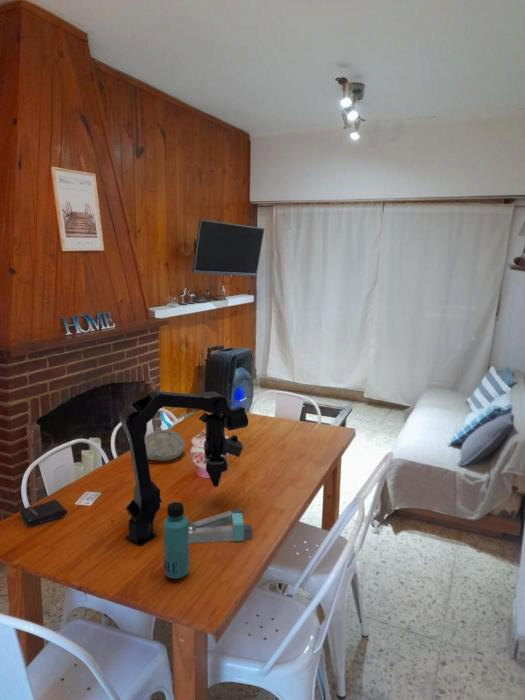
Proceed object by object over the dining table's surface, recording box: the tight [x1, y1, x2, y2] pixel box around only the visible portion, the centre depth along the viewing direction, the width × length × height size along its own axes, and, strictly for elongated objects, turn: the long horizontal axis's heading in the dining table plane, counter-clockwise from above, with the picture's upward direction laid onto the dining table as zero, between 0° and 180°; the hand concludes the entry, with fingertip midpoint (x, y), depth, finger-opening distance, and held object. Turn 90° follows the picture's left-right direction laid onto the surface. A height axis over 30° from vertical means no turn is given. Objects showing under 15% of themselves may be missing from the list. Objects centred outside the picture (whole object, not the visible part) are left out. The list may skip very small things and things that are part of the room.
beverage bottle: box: [162, 501, 190, 579], centre depth 120 cm, size 6×7×20 cm
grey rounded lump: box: [145, 429, 186, 462], centre depth 192 cm, size 18×18×10 cm
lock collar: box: [231, 512, 245, 542], centre depth 139 cm, size 3×6×5 cm, turn 8°
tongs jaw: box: [192, 507, 243, 528], centre depth 144 cm, size 18×2×3 cm, turn 123°
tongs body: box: [188, 522, 253, 545], centre depth 138 cm, size 20×4×4 cm, turn 98°
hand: (215, 480), depth 148 cm, fingers open, 8 cm apart
